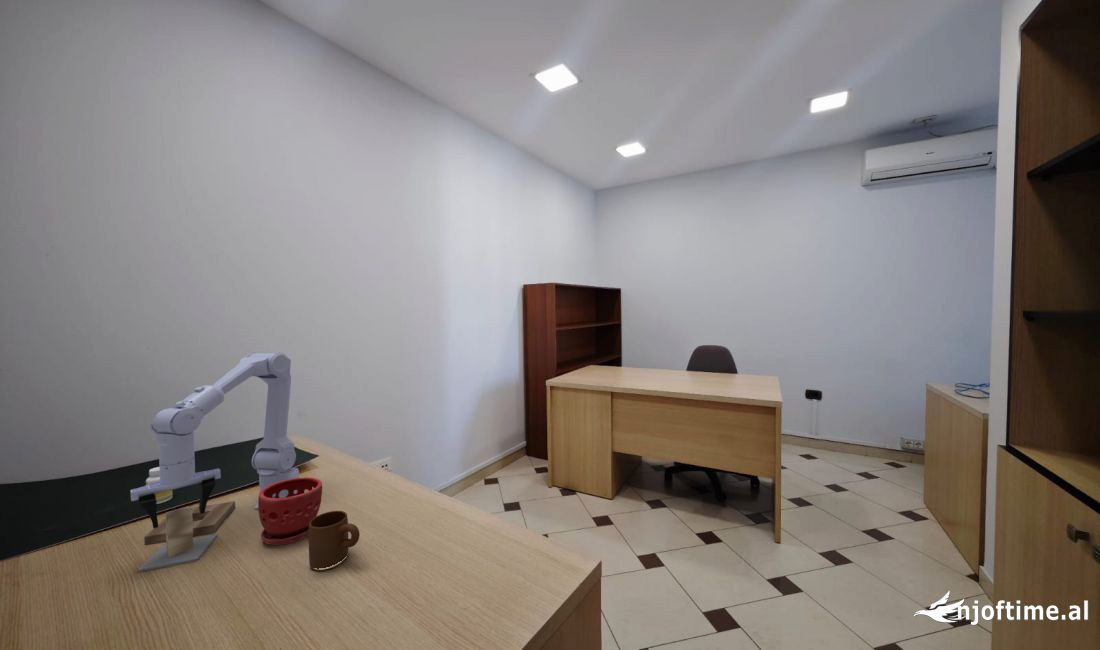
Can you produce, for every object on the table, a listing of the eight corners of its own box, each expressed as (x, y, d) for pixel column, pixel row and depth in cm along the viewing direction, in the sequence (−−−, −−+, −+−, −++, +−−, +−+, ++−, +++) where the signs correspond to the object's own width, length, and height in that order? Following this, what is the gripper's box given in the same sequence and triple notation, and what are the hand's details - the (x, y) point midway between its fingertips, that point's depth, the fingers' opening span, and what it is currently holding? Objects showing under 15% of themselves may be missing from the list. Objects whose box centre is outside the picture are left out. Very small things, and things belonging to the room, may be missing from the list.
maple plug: (190, 543, 89) (189, 505, 89) (193, 549, 87) (192, 511, 87) (166, 551, 86) (165, 512, 86) (168, 558, 84) (167, 518, 84)
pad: (217, 536, 93) (217, 534, 93) (197, 560, 84) (197, 558, 84) (164, 546, 89) (164, 544, 89) (137, 572, 80) (137, 570, 80)
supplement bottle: (177, 496, 114) (176, 465, 114) (157, 505, 109) (156, 472, 108) (162, 496, 114) (161, 464, 114) (141, 504, 109) (140, 471, 109)
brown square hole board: (235, 508, 107) (235, 501, 107) (214, 532, 95) (214, 524, 95) (174, 517, 102) (174, 510, 102) (144, 545, 90) (144, 536, 90)
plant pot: (285, 554, 86) (284, 502, 85) (245, 543, 90) (244, 494, 89) (334, 524, 98) (333, 479, 98) (298, 516, 102) (297, 472, 102)
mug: (372, 557, 84) (371, 515, 84) (344, 579, 77) (343, 534, 77) (330, 547, 88) (329, 507, 88) (300, 568, 81) (299, 525, 81)
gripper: (215, 447, 94) (217, 501, 94) (128, 466, 83) (131, 526, 83) (221, 454, 90) (223, 510, 90) (130, 474, 78) (133, 538, 79)
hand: (179, 519), depth 86 cm, fingers open, 7 cm apart
